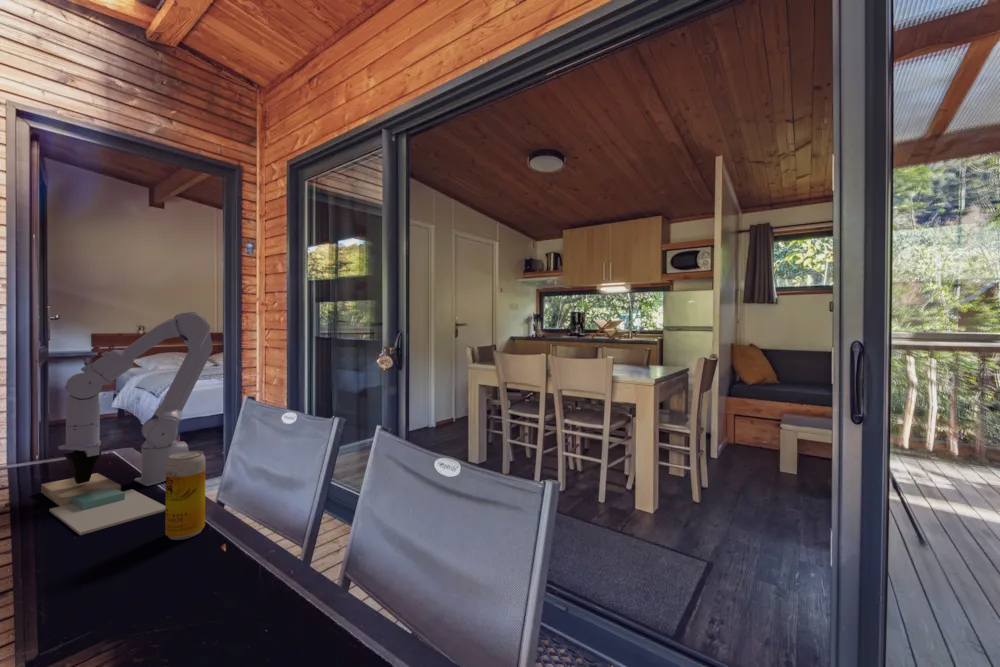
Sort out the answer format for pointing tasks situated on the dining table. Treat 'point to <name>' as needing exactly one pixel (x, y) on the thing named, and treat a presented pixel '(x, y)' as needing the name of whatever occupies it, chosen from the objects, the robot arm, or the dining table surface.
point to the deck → (75, 488)
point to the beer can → (185, 495)
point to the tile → (97, 498)
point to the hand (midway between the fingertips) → (82, 482)
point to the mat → (107, 513)
